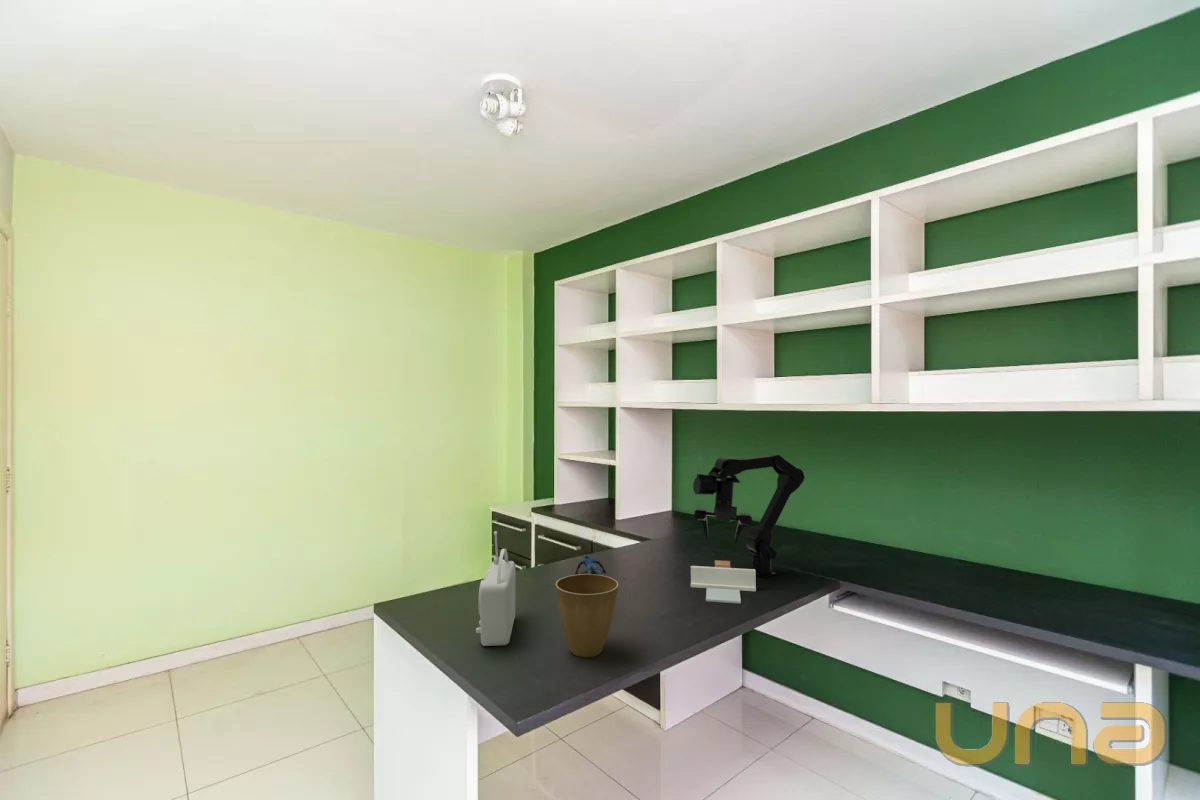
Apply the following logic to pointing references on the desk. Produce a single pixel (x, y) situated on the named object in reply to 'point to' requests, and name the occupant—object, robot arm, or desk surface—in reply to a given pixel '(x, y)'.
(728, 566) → the plain cardboard-brown cube
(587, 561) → the person figurine
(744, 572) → the off-white ledge rack
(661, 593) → the desk surface
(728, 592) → the pad
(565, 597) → the plant pot
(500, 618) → the radio
